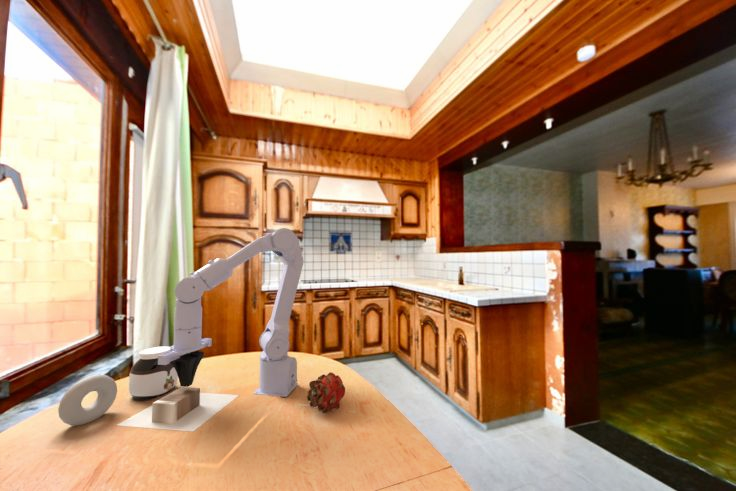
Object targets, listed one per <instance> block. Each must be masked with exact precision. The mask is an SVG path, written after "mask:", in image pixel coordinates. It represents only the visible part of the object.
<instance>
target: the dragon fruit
mask: <svg viewBox="0 0 736 491" xmlns="http://www.w3.org/2000/svg"><path fill="white" fill-rule="evenodd" d="M343 383H344V382H343V379H342V378H341V377H340V375H336V374H335V373H334V372H328V373H327V374H322V375H319V376H318V377H317V379H315V380H311V381H309V390H308V392H307V396H306V399H307V401H308V402H309V406H310V408H317V409H318V411H319V412H322V413H326V412H328V411H329V409H331V410H335V409H336V410H339V408H340V406H341V403H340V401H341V400H342V399H343V398H344V397H345V394H346V386H345V385H344V384H343Z"/></svg>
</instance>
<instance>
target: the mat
mask: <svg viewBox="0 0 736 491" xmlns="http://www.w3.org/2000/svg"><path fill="white" fill-rule="evenodd" d="M239 396H240V395H239V394H227V393H211V392H210V393H209V392H208V393H207V392H200V405H199V406H198V407H196V408H195V409H193V410H192V411H190V412H189V413H187V414H186V415H185V416H183V417H182V418H180V419H179V420H177V421H176V422H174V423H173V424H170V423H156V422H152V405H150V406H148V407H146V408H145V409H143V410H141V411H140V412H139V411H138V413H136V414H134V415H132V416H130V417H129V418H127V419H125V420H123V421H122V422H120V423H117V424H115V426H117V427H127V428H128V427H130V428H141V429H144V428H145V429H152V430H153V429H155V430H168V431H181V432H193V433H194V432H195V431H196V430H197V429H199V428H200V427H201V426H202V425H204V424H205V423H206V422H207V421H209V420H210V419H212V418H213V417H215V415H216V414H218V413H219V412H220V411H222V409H224V408H225V407H226V406H228V405H229V404H230V403H231V402H233V401H234V400H235V399H236V398H238V397H239Z"/></svg>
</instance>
